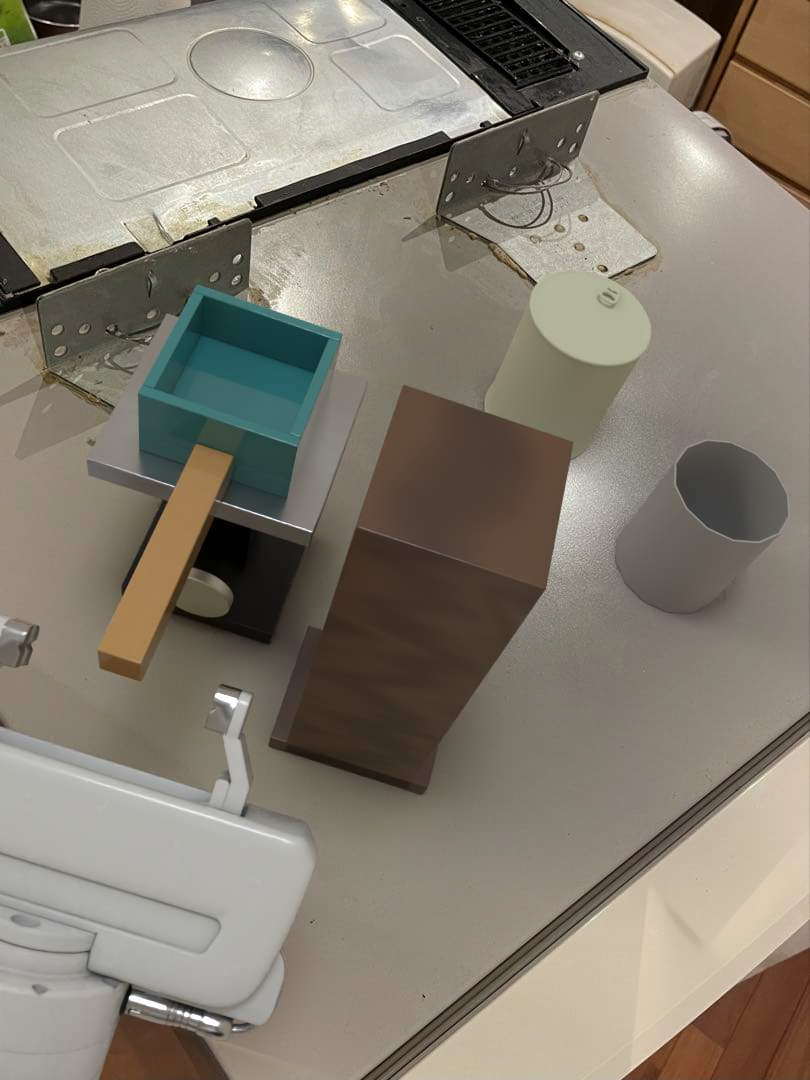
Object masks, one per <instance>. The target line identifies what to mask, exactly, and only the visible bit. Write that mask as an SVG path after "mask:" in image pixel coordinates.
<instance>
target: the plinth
mask: <svg viewBox="0 0 810 1080" xmlns="http://www.w3.org/2000/svg"><path fill="white" fill-rule="evenodd" d="M572 449H573V441H570V440H567V439H564V438H561V437H558V436H555V435H552V434H549V433H546V432H543V431H540V430H537V429H534V428H531V427H528V426H525V425H522V424H519V423H516V422H513V421H510V420H508V419H505V418H502V417H499V416H496V415H493V414H490V413H487V412H485V411H484V410H481V409H477V408H475V407H472V406H469V405H466V404H463V403H460V402H456V401H454V400H451V399H448V398H445V397H443V396H439V395H436V394H433V393H430V392H427V391H424V390H422V389H419V388H415V387H412V386H409V385H406V384H403V385H402V386H401V390H400V393H399V395H398V399H397V401H396V405H395V407H394V411H393V413H392V416H391V420H390V422H389V424H388V428H387V430H386V435H385V438H384V441H383V443H382V446H381V449H380V451H379V455H378V458H377V462H376V465H375V467H374V470H373V474H372V476H371V479H370V482H369V485H368V488H367V492H366V494H365V498H364V500H363V503H362V506H361V510H360V513H359V516H358V518H357V522H356V525H355V528H354V531H353V534H352V537H351V540H350V543H349V546H348V550H347V553H346V555H345V559H344V561H343V565H342V568H341V571H340V574H339V577H338V580H337V584H336V586H335V589H334V593H333V597H332V599H331V601H330V606H329V609H328V612H327V615H326V617H325V621H324V624H323V627H322V629H321V628H318V627H315V626H312V625H308V627H307V629H306V632H305V635H304V639H303V641H302V645H301V647H300V649H299V653H298V655H297V659H296V661H295V665H294V668H293V670H292V673H291V676H290V680H289V682H288V685H287V688H286V691H285V693H284V697H283V700H282V703H281V705H280V709H279V711H278V715H277V718H276V720H275V723H274V725H273V729H272V731H271V735H270V738H269V742H268V747H270V748H274V749H277V750H280V751H283V752H287V753H289V754H292V755H296V756H299V757H302V758H305V759H309V760H311V761H315V762H318V763H321V764H324V765H328V766H331V767H334V768H336V769H340V770H342V771H343V770H344V771H345V772H349V773H352V774H356V775H359V776H362V777H365V778H367V779H368V778H369V779H371V780H375V781H378V782H380V783H384V784H386V785H390V786H394V787H397V788H400V789H404V790H406V791H409V792H413V793H415V794H419V795H424V794H425V793H426V791H427V790H428V788H429V786H430V781H431V777H432V774H433V769H434V764H435V760H436V757H437V752H438V748H439V745H440V743H441V742H442V740H443V739H444V738H445V737H446V735H447V733H448V732H449V730H450V729H451V727H452V726H453V724H455V722H456V720H457V719H458V718H459V715H461V713H462V711H463V710H464V708H465V707H466V706H467V704H468V703H469V701H470V700H471V699H472V697H473V695H474V694H475V693H476V691H477V690H478V689H479V687H480V685H481V684H482V682H483V681H484V680H485V678H486V676H487V675H488V674H489V672H490V671H491V670H492V668H493V666H494V665H495V664H496V663H497V661H498V659H499V658H500V657H501V655H502V654H503V652H504V651H505V649H506V648H507V646H508V645H509V644H510V642H511V641H512V639H513V638H514V636H515V635H516V633H517V632H518V630H519V629H520V628H521V626H522V625H523V623H524V622H525V620H526V619H527V617H528V615H529V614H530V613H531V612H532V610H534V609H533V608H534V607H535V606H536V605H537V603H538V602H539V600H540V599H541V597H542V596H543V594H544V593H545V591H546V590H547V586H548V581H549V580H548V579H549V576H550V571H551V565H552V561H553V555H554V549H555V544H556V538H557V533H558V527H559V523H560V519H561V518H560V516H561V513H562V512H561V511H562V506H563V501H564V495H565V492H566V491H565V490H566V485H567V480H568V475H569V469H570V463H571V460H572V459H571V454H572Z"/></svg>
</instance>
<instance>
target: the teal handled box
mask: <svg viewBox="0 0 810 1080" xmlns="http://www.w3.org/2000/svg"><path fill="white" fill-rule="evenodd" d="M178 317H179V318H178V320H177V322H176V324H175V326H174V328H173V329H172V331H171V333H170V335H169V337H168V339H167V340H166V342H165V344H164V346H163V348H162V350H161V351H160V353H159V355H158V357H157V359H156V361H155V363H154V364H153V366H152V368H151V370H150V372H149V374H148V375H147V377H146V379H145V381H144V383H143V385H142V386H141V388H140V390H139V392H138V427H139V449H140V450H143V451H146V452H149V453H152V454H155V455H158V456H161V457H164V458H167V459H170V460H173V461H176V462H179V463H182V464H185V467H184V469H183V472H182V474H181V476H180V478H179V480H178V482H177V484H176V486H175V488H174V490H173V492H172V494H171V497H170V499H169V501H168V503H167V505H166V507H165V509H164V511H163V513H162V515H161V517H160V519H159V522H158V524H157V526H156V528H155V530H154V532H153V534H152V536H151V538H150V540H149V542H148V544H147V547H146V549H145V551H144V553H143V555H142V557H141V559H140V561H139V563H138V565H137V567H136V570H135V572H134V574H133V576H132V578H131V580H130V582H129V584H128V586H127V588H126V590H125V592H124V595H123V597H122V596H121V599H120V601H119V603H118V605H117V607H116V609H115V612H114V613H113V615H112V618H111V620H110V622H109V624H108V626H107V628H106V630H105V632H104V634H103V636H102V638H101V641H100V643H99V645H98V647H97V650H96V652H97V659H98V661H97V662H98V668H99V669H100V670H103V671H105V672H109V673H112V674H115V675H118V676H122V677H124V678H126V679H127V678H128V679H131V680H134V681H137V682H143V680H144V678H145V676H146V674H147V671H148V668H149V666H150V664H151V662H152V659H153V657H154V655H155V653H156V650H157V648H158V646H159V644H160V641H161V639H162V637H163V635H164V632H165V631H166V628H167V627H168V624H169V621H170V619H171V617H172V615H173V613H172V612H173V610H174V608H175V605H176V603H177V601H178V598H179V596H180V594H181V592H182V589H183V587H184V585H185V583H186V580H187V578H188V576H189V574H190V571H191V569H192V567H193V564H194V562H195V560H196V558H197V555H198V553H199V551H200V549H201V546H202V544H203V542H204V540H205V537H206V535H207V533H208V530H209V528H210V526H211V524H212V521H213V519H214V517H215V515H216V512H217V510H218V508H219V506H220V503H221V501H222V499H223V496H224V494H225V492H226V490H227V487H228V485H229V483H230V481H231V480H233V481H236V482H239V483H242V484H245V485H248V486H251V487H254V488H257V489H260V490H263V491H267V492H270V493H273V494H276V495H279V496H282V497H285V498H288V495H289V493H290V490H291V488H292V485H293V482H294V480H295V477H296V475H297V472H298V470H299V467H300V465H301V462H302V460H303V457H304V455H305V452H306V449H307V447H308V444H309V442H310V439H311V437H312V434H313V432H314V429H315V427H316V424H317V422H318V419H319V416H320V414H321V411H322V409H323V406H324V404H325V401H326V399H327V396H328V394H329V391H330V388H331V384H332V380H333V375H334V371H335V370H336V366H337V362H338V357H339V353H340V348H341V344H342V340H343V337H344V335H343V333H341V332H339V331H335V330H333V329H330V328H327V327H324V326H320V325H318V324H315V323H312V322H309V321H306V320H303V319H300V318H297V317H294V316H291V315H288V314H285V313H284V312H279V311H277V310H274V309H271V308H268V307H265V306H263V305H260V304H257V303H253V302H250V301H247V300H245V299H241V298H239V297H236V296H233V295H230V294H226V293H224V292H221V291H218V290H215V289H212V288H209V287H206V286H204V285H200V284H196V285H195V287H194V289H193V291H192V292H191V295H190V296H189V298H188V300H187V302H186V304H185V306H184V307H183V309H182V311H181V312H180V315H179V316H178Z"/></svg>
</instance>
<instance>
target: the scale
mask: <svg viewBox="0 0 810 1080" xmlns="http://www.w3.org/2000/svg"><path fill="white" fill-rule="evenodd" d="M179 317H180V316H176V315H173V314H170V313H166V314H165V316H164V317H163V319H162V320H161V321H162V322H161V323H160V325H159V326H158V328H157V330H156V332H155V334H154V336H153V338H152V339H151V342H150V343H149V345H148V347H147V348H146V350H145V352H144V354H143V355H142V357H141V359H140V361H139V363H138V365H137V367H136V369H135V370H134V372H133V374H132V375H131V378H130V380H129V381H128V383H127V385H126V387H125V388H124V390H123V392H122V393H121V396H120V397H119V399H118V401H117V403H116V404H115V406H114V408H113V410H112V412H111V414H110V416H109V417H108V419H107V421H106V422H105V425H104V426H103V427H102V430H101V431H100V433H99V436H98V437H97V439H96V440H95V442H94V445H93V446H92V448H91V449H90V451H89V454H88V455H87V457H86V463H87V474H88V476H90V477H93V478H96V479H99V480H102V481H105V482H108V483H111V484H114V485H117V486H120V487H123V488H126V489H130V490H132V491H135V492H138V493H141V494H145V495H148V496H151V497H154V498H156V499H158V500H159V499H160V500H162V501H161V502H160V504H159V507H158V509H157V511H156V513H155V515H154V517H153V519H152V521H151V524H150V526H149V527H148V530H147V531H146V534H145V536H144V538H143V540H142V542H141V544H140V546H139V548H138V551H137V553H136V555H135V557H134V559H133V561H132V563H131V565H130V567H129V569H128V571H127V574H126V575H125V577H124V580H123V582H122V584H121V586H120V587H121V598H122V597H123V595H124V592H125V590H126V588H127V586H128V584H129V582H130V580H131V578H132V576H133V574H134V572H135V570H136V567H137V565H138V563H139V561H140V559H141V557H142V555H143V553H144V551H145V549H146V547H147V544H148V542H149V540H150V538H151V536H152V534H153V532H154V530H155V528H156V526H157V524H158V522H159V519H160V517H161V515H162V513H163V511H164V509H165V507H166V505H167V503H168V501H169V499H170V497H171V494H172V492H173V490H174V488H175V486H176V484H177V482H178V480H179V478H180V476H181V474H182V472H183V469H184V467H185V464H182V463H179V462H176V461H173V460H170V459H167V458H164V457H161V456H158V455H155V454H152V453H149V452H146V451H143V450H140V449H139V427H138V392H139V390H140V388H141V386H142V385H143V383H144V381H145V379H146V377H147V375H148V374H149V372H150V370H151V368H152V366H153V364H154V363H155V361H156V359H157V357H158V355H159V353H160V351H161V350H162V348H163V346H164V344H165V342H166V340H167V339H168V337H169V335H170V333H171V331H172V329H173V328H174V326H175V324H176V322H177V320H178V318H179ZM368 383H369V381H368V380H367V379H364V378H363V379H362V378H360V377H357V376H355V375H351V374H348V373H346V372H342V371H340V370H337V369H335V371H334V375H333V380H332V384H331V388H330V391H329V394H328V396H327V399H326V401H325V404H324V406H323V409H322V411H321V414H320V416H319V419H318V422H317V424H316V427H315V429H314V432H313V434H312V437H311V439H310V442H309V444H308V447H307V449H306V452H305V455H304V457H303V460H302V462H301V465H300V467H299V470H298V472H297V475H296V477H295V480H294V482H293V485H292V488H291V490H290V493H289V495H288V498H285V497H282V496H279V495H276V494H273V493H270V492H267V491H263V490H260V489H257V488H254V487H251V486H248V485H245V484H242V483H239V482H236V481H233V480H231V481H230V483H229V485H228V487H227V490H226V492H225V494H224V496H223V499H222V501H221V503H220V506H219V508H218V510H217V512H216V515H215V517H214V519H213V521H212V524H211V526H210V528H209V530H208V533H207V535H206V537H205V540H204V542H203V544H202V546H201V549H200V551H199V553H198V555H197V558H196V560H195V562H194V564H193V567H192V569H191V571H190V574H189V576H188V578H187V580H186V583H185V585H184V587H183V589H182V592H181V594H180V596H179V598H178V601H177V603H176V605H175V608H174V610H173V612H172V615H175V616H179V617H183V618H186V619H189V620H191V621H195V622H198V623H201V624H204V625H207V626H210V627H213V628H215V629H216V628H217V629H220V630H223V631H225V632H229V633H232V634H236V635H238V636H241V637H244V638H247V639H251V640H254V641H257V642H260V643H262V644H266V645H271V643H272V640H273V638H274V635H275V633H276V630H277V627H278V624H279V621H280V618H281V615H282V613H283V610H284V607H285V605H286V602H287V600H288V596H289V595H290V594H289V593H290V591H291V588H292V587H293V583H294V580H295V577H296V575H297V572H298V569H299V566H300V564H301V561H302V559H303V555H304V553H305V549H306V548H310V547H311V546H312V542H313V539H314V538H315V534H316V531H317V528H318V526H319V523H320V520H321V518H322V515H323V511H324V508H325V506H326V503H327V500H328V497H329V494H330V492H331V490H332V486H333V484H334V481H335V479H336V475H337V473H338V470H339V467H340V465H341V462H342V459H343V456H344V453H345V450H346V447H347V446H348V443H349V440H350V437H351V434H352V432H353V428H354V426H355V423H356V420H357V418H358V415H359V412H360V410H361V405H362V404H363V401H364V399H365V394H366V392H367V391H366V390H367V388H368Z"/></svg>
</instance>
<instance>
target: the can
mask: <svg viewBox="0 0 810 1080" xmlns="http://www.w3.org/2000/svg"><path fill="white" fill-rule="evenodd" d="M650 321H651V320H650V318H649V315H648V314H647V311H646V310H645V308H644V306H643V305H642V304H641V302H640V301H639V300H638V298H637V297H635V296H634V294H632V293H631V292H630V291H629V290H628V289H627V288H625V287H624V286H623V285H621V284H619V283H618V282H616V281H614V280H613V279H610V278H609V277H607V276H604V275H601V274H598V273H595V272H591V271H587V270H579V269H565V270H558V271H555V272H552V273H550V274H548V275H546V276H544V277H543V278H541V279H540V280H539V281H538V282H537V283H536V284H535V285H534V287H533V288H532V290H531V293H530V295H529V299H528V303H527V305H526V307H525V309H524V312H523V315H522V317H521V320H520V321H519V324H518V326H517V328H516V331H515V334H514V336H513V338H512V340H511V342H510V345H509V347H508V349H507V350H506V351H507V352H506V354H505V356H504V358H503V360H502V362H501V366H500V367H499V369H498V372H497V373H496V376H495V378H494V380H493V382H492V383H491V385H490V386H489V387H488V389H487V391H486V393H485V396H484V403H483V409H484V410H483V411H484V412H487V413H490V414H493V415H496V416H499V417H502V418H505V419H508V420H510V421H513V422H516V423H519V424H522V425H525V426H528V427H531V428H534V429H537V430H540V431H543V432H546V433H549V434H552V435H555V436H558V437H561V438H564V439H567V440H570V441H573V449H572V454H571V459H570V460H573V459H575V458H577V457H579V456H580V455H581V454H582V453H584V451H586V450H587V448H588V447H589V445H591V443H592V440H593V439H594V435H595V432H596V430H597V429H598V426H600V424H601V422H602V420H603V419H604V417H605V415H606V413H607V412H608V410H609V409H610V407H611V405H613V402H614V400H615V399H616V397H617V395H618V394H619V392H620V390H621V389H622V387H623V386H624V384H625V382H626V381H627V379H628V378H629V376H630V375H631V373H632V372H633V370H634V368H635V367H636V365H637V363H638V362H639V361H640V359H641V357H642V356H643V355H644V354H645V353H646V351H647V350H648V348H649V346H650V343H651V340H652V325H651V322H650Z"/></svg>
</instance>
